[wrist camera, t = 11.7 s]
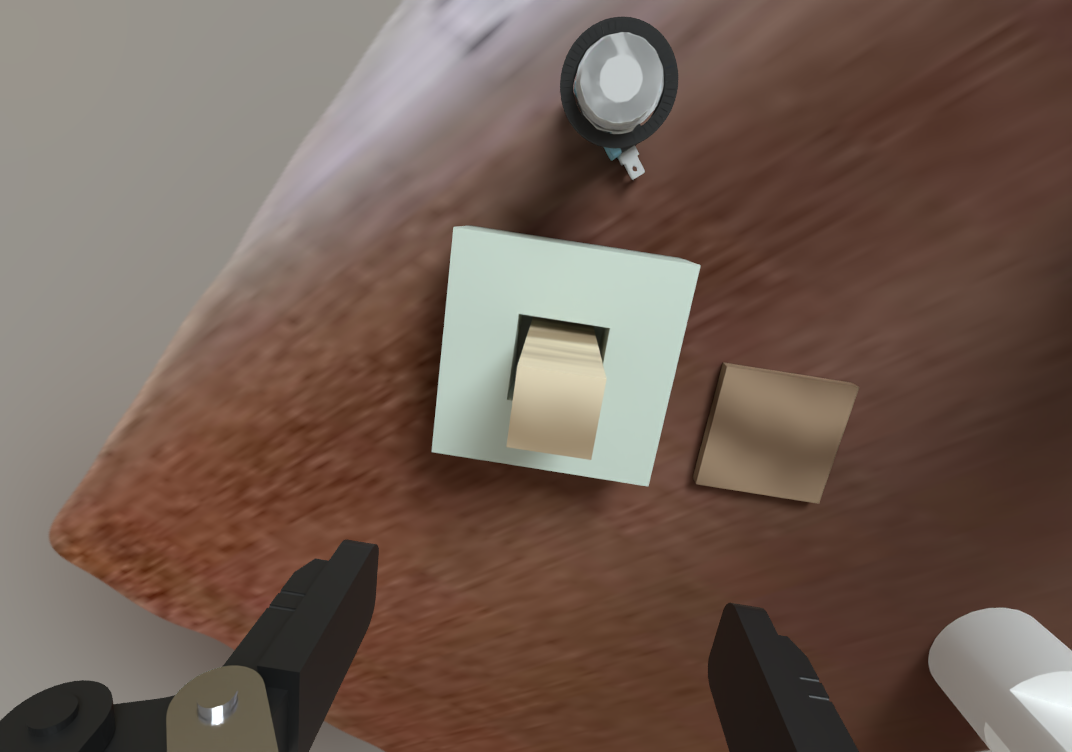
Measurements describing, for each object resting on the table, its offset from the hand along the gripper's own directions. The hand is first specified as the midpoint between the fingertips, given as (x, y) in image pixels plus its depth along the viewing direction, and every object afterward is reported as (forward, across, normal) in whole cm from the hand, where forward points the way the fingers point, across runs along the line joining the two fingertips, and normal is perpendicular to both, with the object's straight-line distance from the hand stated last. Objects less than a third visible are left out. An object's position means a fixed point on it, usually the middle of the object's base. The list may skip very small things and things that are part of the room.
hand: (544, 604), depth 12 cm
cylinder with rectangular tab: (+26, -38, +20) cm, 50 cm away
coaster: (+26, -16, +4) cm, 31 cm away
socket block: (+26, 0, 0) cm, 26 cm away
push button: (+26, -1, -14) cm, 30 cm away
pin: (+24, 0, 0) cm, 24 cm away
